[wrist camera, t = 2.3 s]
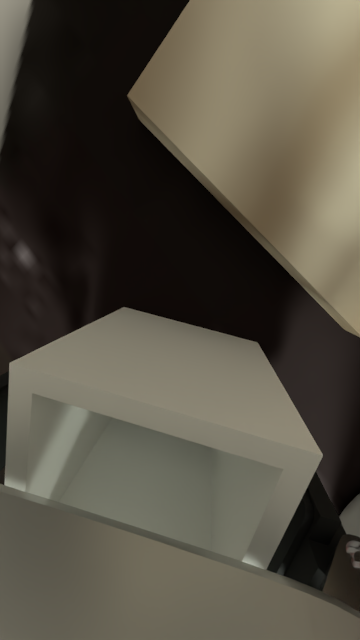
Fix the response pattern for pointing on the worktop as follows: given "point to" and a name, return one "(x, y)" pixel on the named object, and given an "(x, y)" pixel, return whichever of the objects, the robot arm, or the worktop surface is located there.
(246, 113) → the board
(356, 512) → the cylinder vase
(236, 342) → the duct collar
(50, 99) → the worktop surface
